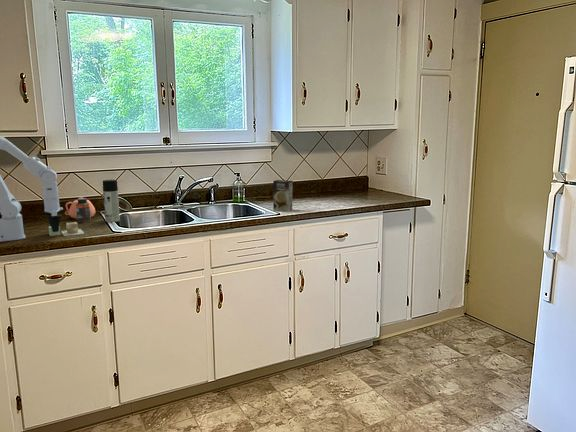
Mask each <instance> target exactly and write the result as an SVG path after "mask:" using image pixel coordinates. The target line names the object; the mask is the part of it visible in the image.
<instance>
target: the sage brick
mask: <svg viewBox="0 0 576 432" xmlns="http://www.w3.org/2000/svg"><path fill="white" fill-rule="evenodd" d="M48 234H49V236H50V237H53V236H61V226H60V225H59V231H58V232H53V231H52V228H51V226H50V225H49V226H48Z"/></svg>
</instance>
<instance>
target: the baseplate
mask: <svg viewBox="0 0 576 432" xmlns="http://www.w3.org/2000/svg"><path fill="white" fill-rule="evenodd" d="M60 233H62V235H63V236H64V237H65V236H75V235H84V234H85V232H84V231H83V230H82V228H78V233H71V234H68V233H67V230H60Z"/></svg>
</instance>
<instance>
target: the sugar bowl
mask: <svg viewBox="0 0 576 432" xmlns="http://www.w3.org/2000/svg"><path fill="white" fill-rule="evenodd" d="M80 198H81V197H78V198H77V199H75V200H74V201H68V202H66V203H65V208H66V211H65V212H64V214H65V215H66V216H70V217H71V218H72V219H75V220H77V210H76V204H77V203H78V199H80ZM87 203H89V206H90V216H91V218H92V217H93V216H95V215H96V208H95V206H94V205H93V203H92V202H91V201H90V200H89V199H87ZM70 204H71V205H70ZM68 205H70V206H69V207H68Z"/></svg>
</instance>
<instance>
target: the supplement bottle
mask: <svg viewBox="0 0 576 432" xmlns="http://www.w3.org/2000/svg"><path fill="white" fill-rule="evenodd" d="M79 198H80V199H78V198H77V200H78V203H77V204H76V210H77V219H76V220H77V223H80V224H81V223H88V222H91V220H92V217H91V216H90V206H89V203H87V200H88V199H87V197H79Z"/></svg>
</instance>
